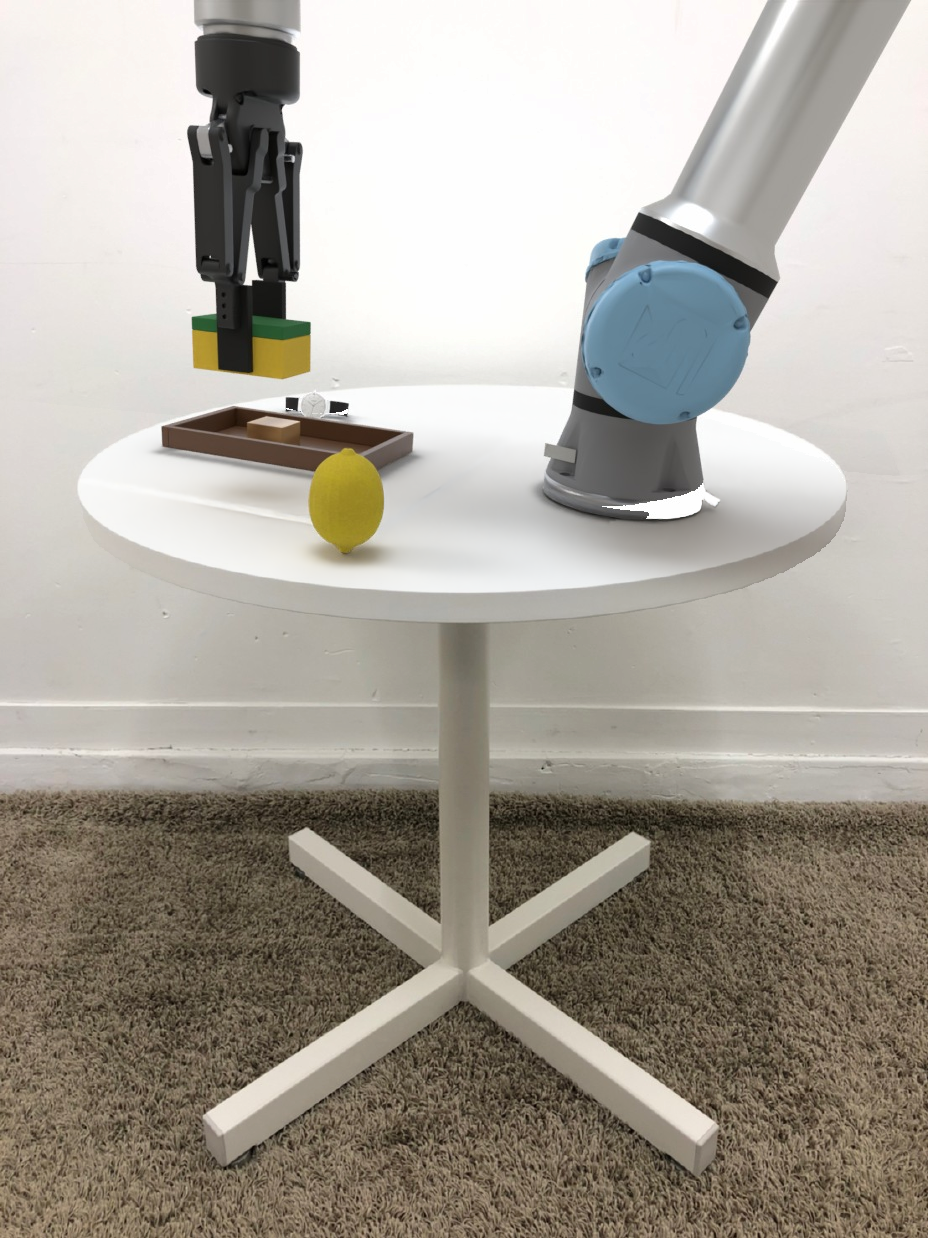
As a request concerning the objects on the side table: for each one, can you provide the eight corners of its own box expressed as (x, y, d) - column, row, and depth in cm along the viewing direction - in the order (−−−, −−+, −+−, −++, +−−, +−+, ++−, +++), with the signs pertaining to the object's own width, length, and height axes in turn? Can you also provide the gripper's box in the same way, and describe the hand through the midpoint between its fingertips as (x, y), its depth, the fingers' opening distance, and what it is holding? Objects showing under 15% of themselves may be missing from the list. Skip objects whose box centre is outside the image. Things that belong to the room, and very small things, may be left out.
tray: (412, 456, 103) (413, 432, 102) (360, 484, 91) (361, 457, 90) (233, 428, 109) (233, 405, 108) (162, 451, 97) (160, 426, 96)
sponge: (224, 361, 82) (223, 312, 81) (310, 371, 80) (311, 321, 79) (193, 368, 78) (191, 316, 76) (282, 379, 76) (282, 326, 74)
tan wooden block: (300, 445, 101) (300, 421, 100) (281, 452, 98) (282, 427, 97) (266, 439, 102) (266, 416, 101) (246, 446, 99) (246, 422, 98)
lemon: (305, 563, 70) (307, 455, 67) (310, 539, 75) (311, 437, 72) (382, 567, 71) (387, 459, 68) (381, 542, 76) (386, 441, 73)
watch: (280, 419, 115) (280, 388, 114) (290, 412, 120) (290, 382, 118) (344, 425, 115) (345, 394, 114) (351, 417, 119) (352, 388, 118)
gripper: (260, 58, 79) (264, 350, 88) (127, 12, 63) (148, 375, 72) (345, 60, 77) (340, 359, 86) (230, 13, 61) (239, 386, 70)
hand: (253, 365), depth 79 cm, fingers closed on sponge, 5 cm apart
